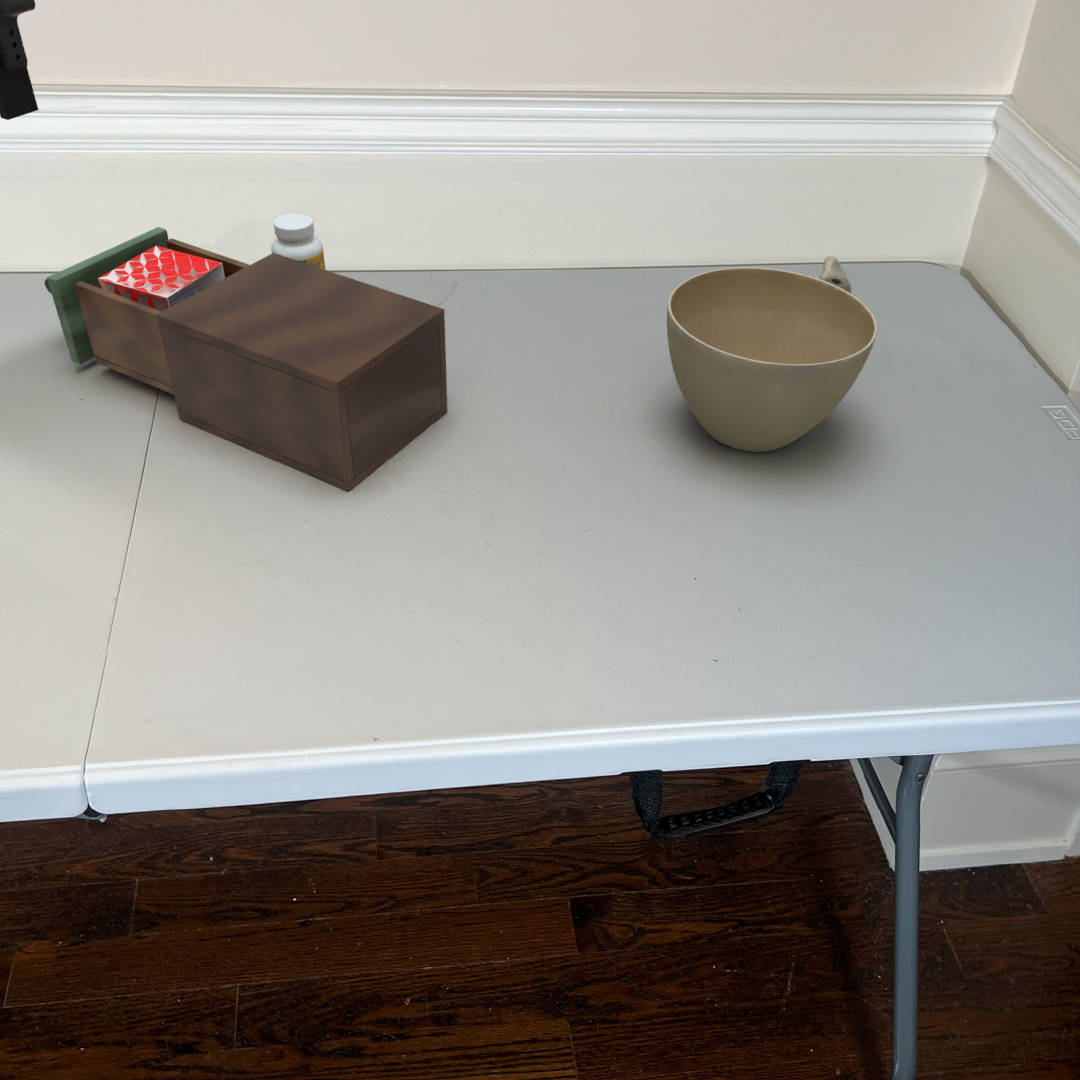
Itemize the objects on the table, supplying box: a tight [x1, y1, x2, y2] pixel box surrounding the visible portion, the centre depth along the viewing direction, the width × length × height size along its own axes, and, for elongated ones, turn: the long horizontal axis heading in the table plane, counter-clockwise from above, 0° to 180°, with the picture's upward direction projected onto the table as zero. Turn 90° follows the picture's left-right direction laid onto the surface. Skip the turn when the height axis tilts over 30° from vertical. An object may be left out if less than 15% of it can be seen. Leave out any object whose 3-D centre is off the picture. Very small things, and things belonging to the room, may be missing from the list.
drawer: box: [44, 226, 250, 396], centre depth 100 cm, size 24×14×9 cm, turn 59°
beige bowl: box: [666, 266, 878, 453], centre depth 94 cm, size 18×18×12 cm
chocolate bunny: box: [818, 255, 852, 294], centre depth 107 cm, size 6×8×10 cm
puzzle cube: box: [98, 246, 225, 312], centre depth 99 cm, size 8×8×8 cm
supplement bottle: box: [270, 213, 326, 270], centre depth 110 cm, size 5×5×10 cm
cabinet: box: [156, 252, 448, 492], centre depth 93 cm, size 20×15×11 cm
